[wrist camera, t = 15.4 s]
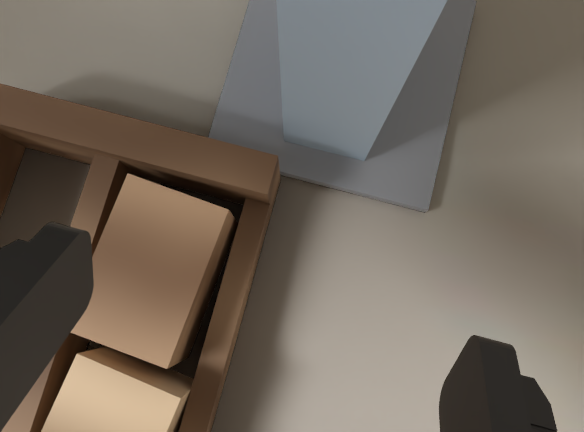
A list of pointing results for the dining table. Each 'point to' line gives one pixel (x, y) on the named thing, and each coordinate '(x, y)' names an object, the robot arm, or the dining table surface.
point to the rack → (100, 201)
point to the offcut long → (118, 395)
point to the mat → (393, 135)
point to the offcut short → (155, 272)
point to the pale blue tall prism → (346, 67)
